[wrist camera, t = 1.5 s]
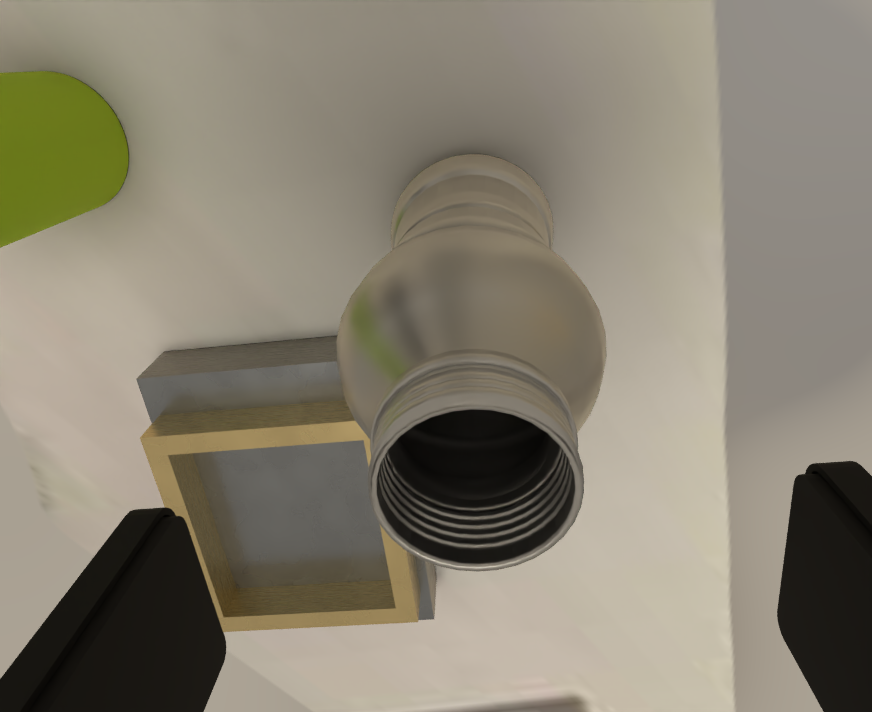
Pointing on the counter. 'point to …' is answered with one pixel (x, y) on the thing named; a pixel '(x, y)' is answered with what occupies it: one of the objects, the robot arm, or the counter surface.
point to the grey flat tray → (277, 488)
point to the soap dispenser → (55, 152)
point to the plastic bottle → (472, 369)
